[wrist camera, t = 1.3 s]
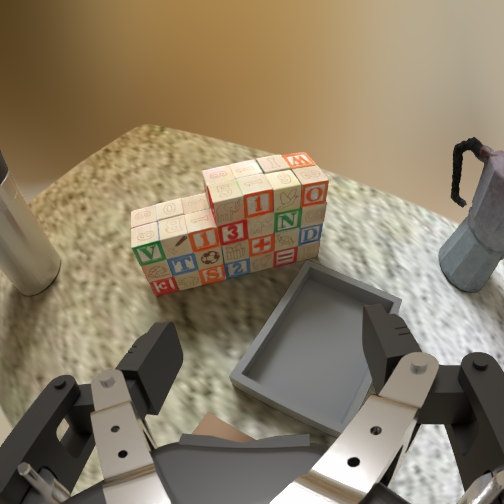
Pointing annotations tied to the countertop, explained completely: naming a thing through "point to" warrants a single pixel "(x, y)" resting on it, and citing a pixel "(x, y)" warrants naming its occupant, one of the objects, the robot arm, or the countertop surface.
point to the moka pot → (476, 222)
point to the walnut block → (220, 429)
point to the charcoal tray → (314, 350)
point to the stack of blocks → (233, 223)
